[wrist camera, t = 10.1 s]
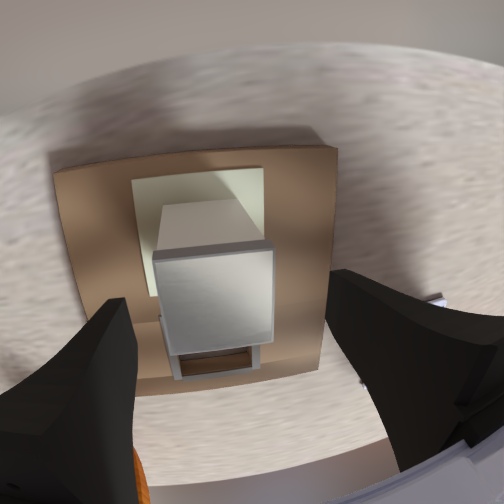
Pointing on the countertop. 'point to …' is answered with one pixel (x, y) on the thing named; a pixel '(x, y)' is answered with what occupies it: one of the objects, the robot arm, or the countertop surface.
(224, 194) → the brown board with panel
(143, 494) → the carrot
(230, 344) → the plug
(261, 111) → the countertop surface
